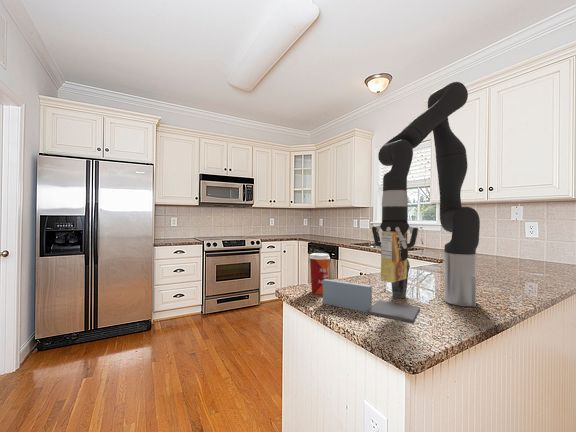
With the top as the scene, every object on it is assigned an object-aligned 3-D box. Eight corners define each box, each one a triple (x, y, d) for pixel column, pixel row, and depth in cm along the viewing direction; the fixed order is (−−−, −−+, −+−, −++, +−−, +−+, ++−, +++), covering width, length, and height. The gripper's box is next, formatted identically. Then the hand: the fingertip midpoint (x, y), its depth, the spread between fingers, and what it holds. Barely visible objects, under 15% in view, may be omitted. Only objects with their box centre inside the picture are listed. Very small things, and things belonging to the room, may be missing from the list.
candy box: (395, 276, 90) (395, 230, 90) (407, 279, 87) (407, 231, 87) (380, 280, 84) (380, 231, 84) (392, 283, 81) (393, 231, 81)
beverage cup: (388, 297, 100) (388, 243, 100) (389, 292, 106) (389, 241, 106) (410, 300, 97) (410, 244, 97) (409, 294, 104) (409, 242, 104)
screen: (371, 310, 86) (371, 285, 86) (369, 312, 84) (369, 286, 84) (325, 302, 95) (325, 279, 95) (322, 303, 93) (322, 280, 93)
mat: (419, 309, 87) (419, 307, 87) (413, 322, 76) (413, 319, 76) (378, 302, 94) (378, 300, 94) (367, 313, 84) (367, 310, 84)
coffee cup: (324, 296, 101) (324, 256, 101) (305, 293, 105) (305, 254, 105) (333, 291, 108) (333, 253, 108) (314, 288, 112) (315, 252, 112)
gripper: (421, 205, 85) (421, 260, 85) (374, 206, 93) (374, 256, 93) (417, 204, 78) (417, 263, 78) (368, 205, 86) (367, 259, 86)
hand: (394, 259), depth 86 cm, fingers closed on candy box, 5 cm apart
